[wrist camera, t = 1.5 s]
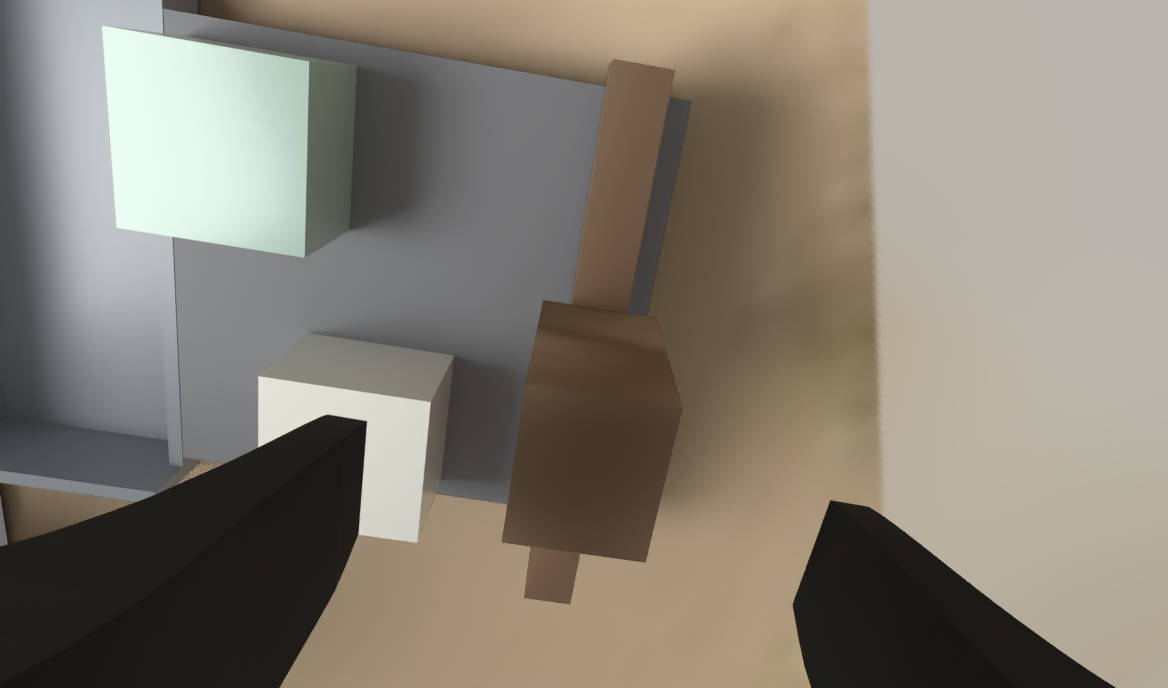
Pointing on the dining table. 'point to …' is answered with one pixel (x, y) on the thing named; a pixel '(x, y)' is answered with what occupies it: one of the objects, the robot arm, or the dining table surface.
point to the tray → (79, 270)
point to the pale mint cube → (229, 141)
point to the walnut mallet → (598, 369)
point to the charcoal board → (415, 246)
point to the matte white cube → (369, 419)
